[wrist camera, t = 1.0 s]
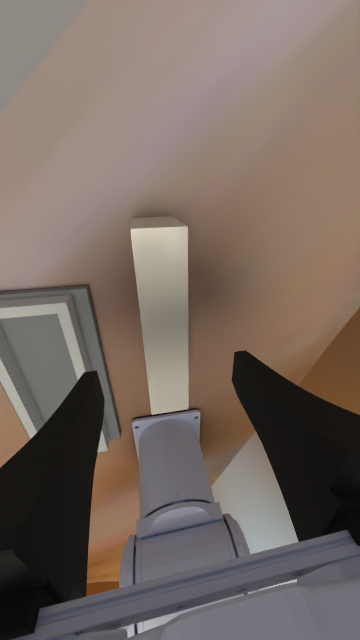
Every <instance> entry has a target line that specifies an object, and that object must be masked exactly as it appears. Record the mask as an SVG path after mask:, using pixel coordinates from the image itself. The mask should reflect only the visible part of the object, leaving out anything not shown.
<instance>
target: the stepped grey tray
mask: <svg viewBox="0 0 360 640" xmlns="http://www.w3.org/2000/svg"><path fill="white" fill-rule="evenodd" d="M96 370H97V373H98V376H99V380H100V384H101V388H102V391H103V395H104V399H105V404H104V419H103V425H102V431H101V436H100V441H99V447H98V452H103V451H108V444H109V440H114V439H120V436H121V431H120V427H119V422H118V418H117V413H116V409H115V404H114V400H113V395H112V391H111V387H110V382H109V378H108V373H107V369H106V364H105V360H104V355H103V351H102V346H101V342H100V337H99V333H98V328H97V324H96V319H95V315H94V310H93V306H92V301H91V297H90V292H89V288H88V285H81V286H68V287H54V288H41V289H28V290H15V291H1V292H0V384H1V386H2V387H3V389H4V391H5V393H6V395H7V397H8V399H9V401H10V403H11V405H12V406H13V408H14V410H15V412H16V414H17V416H18V418H19V420H20V422H21V423H22V425H23V427H24V429H25V431H26V433H27V435H28V437H29V439H31V438H32V437H33V436H34V435H35V434H36V433H37V432H38V431H39V430H40V428H41V427H42V426H43V425H44V424H45V423H46V422H47V420H48V419H49V418H50V417H51V416H52V414H53V413H54V412H55V411H56V410H57V408H58V407H59V406H60V404H61V403H62V402H63V401H64V399H65V398H66V397H67V395H68V394H69V392H70V391H71V390H72V388H73V387H74V386H75V384H76V383H77V381H78V380H79V378H80V377H81V376H82V374H83V373H84V372H89V371H96Z"/></svg>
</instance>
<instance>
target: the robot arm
mask: <svg viewBox="0 0 360 640" xmlns="http://www.w3.org/2000/svg"><path fill="white" fill-rule="evenodd" d="M232 382H233V385H234V388H235V391H236V393H237V396H238V398H239V400H240V402H241V404H242V406H243V408H244V409H245V411H246V413H247V415H248V417H249V419H250V421H251V423H252V424H253V426H254V428H255V430H256V432H257V434H258V436H259V438H260V440H261V442H262V444H263V446H264V449H265V451H266V454H267V456H268V459H269V461H270V463H271V466H272V468H273V471H274V473H275V476H276V479H277V481H278V484H279V486H280V489H281V492H282V495H283V497H284V500H285V503H286V506H287V508H288V511H289V514H290V517H291V520H292V523H293V526H294V529H295V532H296V535H297V538H298V541H299V542H298V543H294V544H290V545H286V546H282V547H278V548H274V549H270V550H266V551H262V552H259V553H255V554H251V555H250V552H249V549H248V545H247V543H246V540H245V537H244V534H243V532H242V530H241V528H240V526H239V524H238V523H237V521H236V520H234V519H233V518H232V517H231V516H230V514H224V515H222V511H221V507H220V504H219V502H217V503H215V501H214V497H213V493H212V489H211V485H210V481H209V477H208V474H207V470H206V466H205V462H204V458H203V454H202V450H201V447H200V443H199V441H200V411H199V410H190V411H184V412H177V413H171V414H164V415H158V416H151V417H145V418H139V419H134V420H133V421H132V429H133V434H134V440H135V445H136V451H137V456H138V462H139V499H140V520H137V535H131V536H130V537H129V538H128V541H127V542H126V544H125V546H124V547H123V551H122V556H121V565H120V580H119V588H118V589H114V590H110V591H106V592H103V593H99V594H95V595H91V596H87V597H86V584H87V561H88V543H89V526H90V512H91V499H92V488H93V477H94V469H95V463H96V458H97V452H98V447H99V441H100V436H101V431H102V425H103V419H104V404H105V399H104V395H103V391H102V388H101V384H100V380H99V376H98V373H97V370H96V371H89V372H84V373H83V374H82V376H81V377H80V378H79V380H78V381H77V383H76V384H75V386H74V387H73V388H72V390H71V391H70V392H69V394H68V395H67V397H66V398H65V399H64V401H63V402H62V403H61V404H60V406H59V407H58V408H57V410H56V411H55V412H54V413H53V414H52V416H51V417H50V418H49V419H48V420H47V422H46V423H45V424H44V425H43V426H42V427H41V428H40V430H39V431H38V432H37V433H36V434H35V435H34V436H33V437H32V438H31V439H30V440H29V441H28V442H27V443H26V444H25V445H24V446H23V447H22V448H21V449H20V450H19V451H18V452H17V453H16V454H15V455H14V456H13V457H12V458H11V459H9V460H8V461H7V462H6V463H5V464H4V465H3V466H2V467H1V468H0V640H360V415H358V414H355V413H353V412H350V411H348V410H346V409H343V408H341V407H338V406H336V405H334V404H332V403H330V402H327V401H325V400H323V399H321V398H319V397H317V396H315V395H313V394H311V393H309V392H308V391H306V390H304V389H302V388H300V387H299V386H297V385H295V384H294V383H292V382H290V381H289V380H287V379H286V378H284V377H283V376H281V375H279V374H278V373H276V372H275V371H274V370H272V369H271V368H269V367H268V366H266V365H265V364H264V363H262V362H261V361H260V360H258V359H257V358H255V357H254V356H253V355H251V354H250V353H248V352H247V351H238V352H235V354H234V364H233V374H232ZM294 579H297V583H290V584H284V585H279V586H276V587H272V588H269V589H265V590H261V591H259V589H261V588H265V587H269V586H272V585H276V584H279V583H283V582H287V581H290V580H294ZM118 628H120V629H118ZM114 629H115V630H114Z"/></svg>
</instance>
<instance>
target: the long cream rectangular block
mask: <svg viewBox="0 0 360 640" xmlns="http://www.w3.org/2000/svg"><path fill="white" fill-rule="evenodd" d="M130 231H131V240H132V248H133V257H134V266H135V274H136V283H137V292H138V300H139V309H140V318H141V326H142V335H143V344H144V352H145V361H146V369H147V378H148V387H149V395H150V404H151V413H152V415H154V414H160V413H167V412H173V411H180V410H186V409H188V226H186V225H185V224H183V223H182V222H180V221H179V220H177V219H176V218H174V217H173V216H167V217H140V218H131V227H130Z"/></svg>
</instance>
